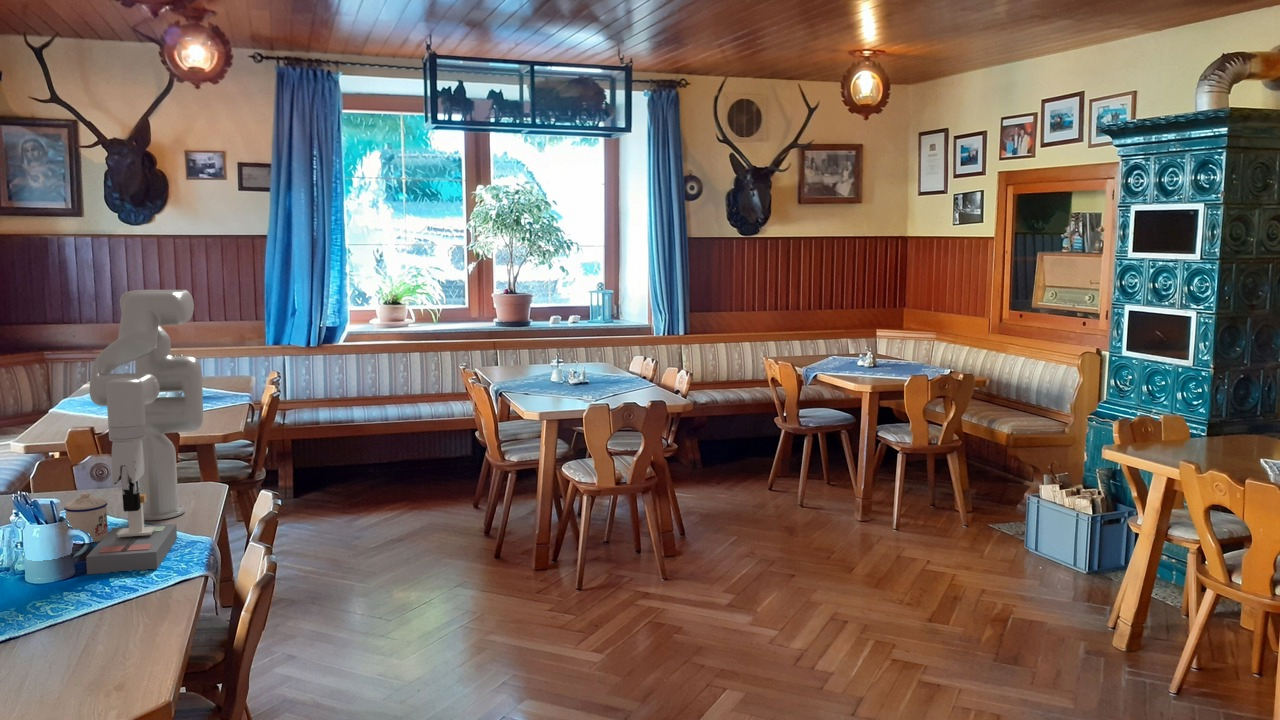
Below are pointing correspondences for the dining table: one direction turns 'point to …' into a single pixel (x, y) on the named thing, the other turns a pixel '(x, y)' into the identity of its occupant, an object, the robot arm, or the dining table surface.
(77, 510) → the teacup with lid
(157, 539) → the switch box
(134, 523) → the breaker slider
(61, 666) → the dining table surface
